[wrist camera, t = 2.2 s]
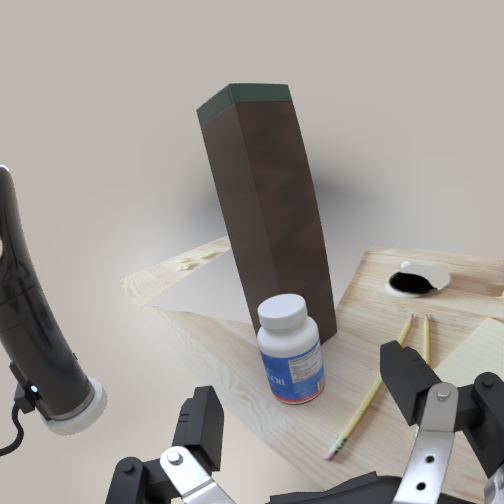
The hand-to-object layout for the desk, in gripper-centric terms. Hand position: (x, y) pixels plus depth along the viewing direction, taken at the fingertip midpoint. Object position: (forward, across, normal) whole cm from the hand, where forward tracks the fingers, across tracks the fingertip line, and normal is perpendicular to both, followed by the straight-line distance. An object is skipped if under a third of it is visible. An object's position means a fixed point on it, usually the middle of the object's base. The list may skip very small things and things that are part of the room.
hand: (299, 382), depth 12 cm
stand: (+20, -1, +11) cm, 23 cm away
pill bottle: (+11, 0, +11) cm, 16 cm away
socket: (+20, -1, -16) cm, 26 cm away
